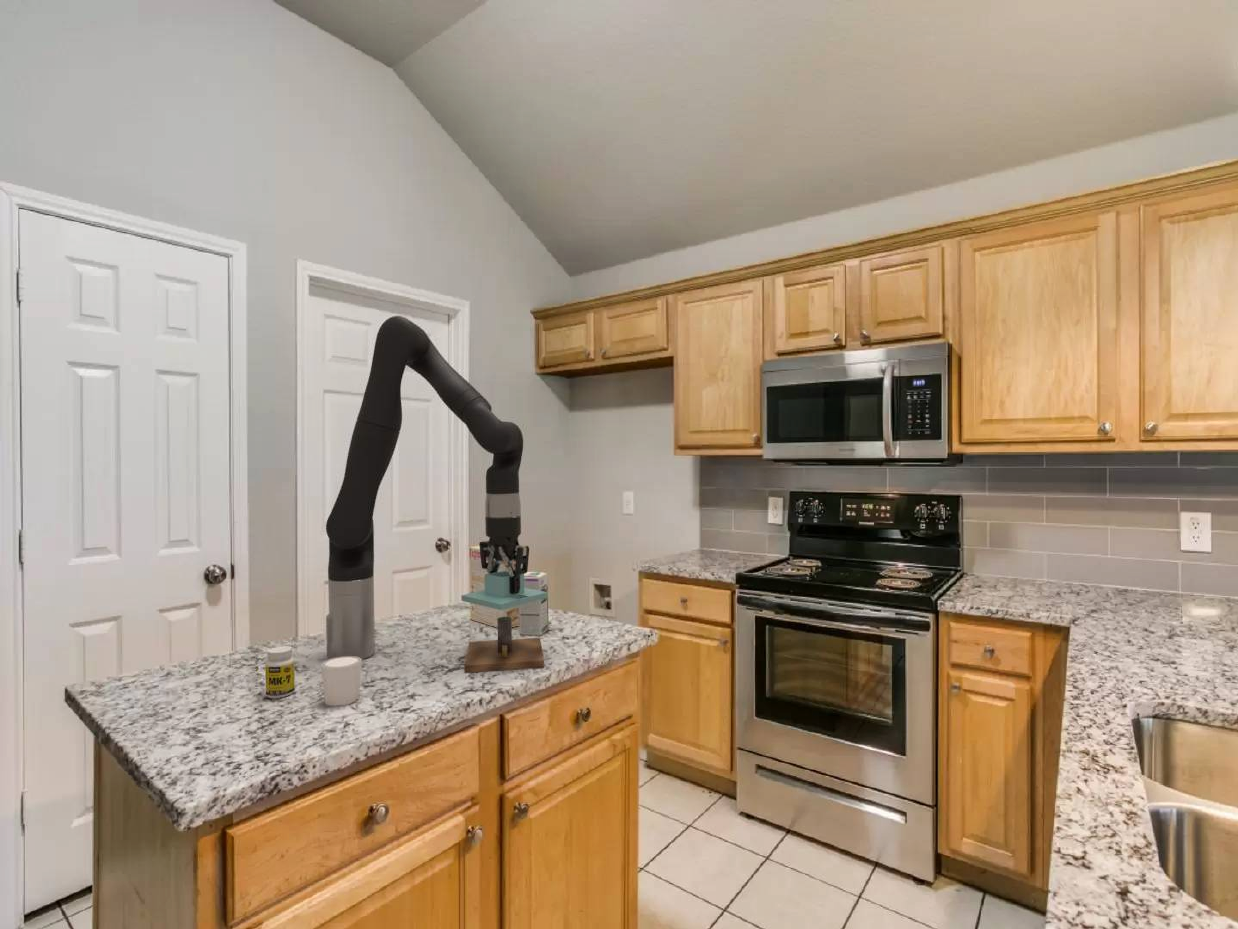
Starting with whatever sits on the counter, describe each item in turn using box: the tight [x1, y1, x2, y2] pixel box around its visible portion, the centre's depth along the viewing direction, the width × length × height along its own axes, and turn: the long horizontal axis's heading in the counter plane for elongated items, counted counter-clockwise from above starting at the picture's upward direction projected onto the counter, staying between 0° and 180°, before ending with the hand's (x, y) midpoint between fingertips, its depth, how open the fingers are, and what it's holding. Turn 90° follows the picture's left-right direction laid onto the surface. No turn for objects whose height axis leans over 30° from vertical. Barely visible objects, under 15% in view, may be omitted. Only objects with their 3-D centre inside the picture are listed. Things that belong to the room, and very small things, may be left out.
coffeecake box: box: [469, 545, 523, 629], centre depth 167 cm, size 15×7×20 cm, turn 46°
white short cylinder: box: [320, 656, 363, 706], centre depth 116 cm, size 7×7×7 cm
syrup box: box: [518, 571, 550, 637], centre depth 158 cm, size 6×6×14 cm
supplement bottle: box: [264, 645, 296, 699], centre depth 119 cm, size 5×5×8 cm
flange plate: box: [460, 570, 547, 610], centre depth 139 cm, size 13×13×6 cm
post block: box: [464, 617, 545, 674], centre depth 139 cm, size 16×16×8 cm
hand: (504, 591), depth 139 cm, fingers closed on flange plate, 6 cm apart
